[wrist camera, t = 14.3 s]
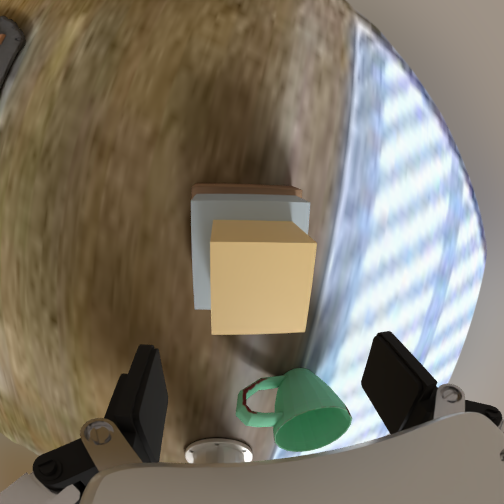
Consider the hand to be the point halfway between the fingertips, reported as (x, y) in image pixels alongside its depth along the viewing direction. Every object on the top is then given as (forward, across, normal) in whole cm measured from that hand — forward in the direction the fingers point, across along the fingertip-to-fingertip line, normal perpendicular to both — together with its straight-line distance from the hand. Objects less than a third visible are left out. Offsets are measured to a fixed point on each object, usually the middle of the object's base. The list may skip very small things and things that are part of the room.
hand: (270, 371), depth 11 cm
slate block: (+17, 0, -1) cm, 17 cm away
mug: (+21, -6, +20) cm, 30 cm away
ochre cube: (+12, 0, -1) cm, 12 cm away
